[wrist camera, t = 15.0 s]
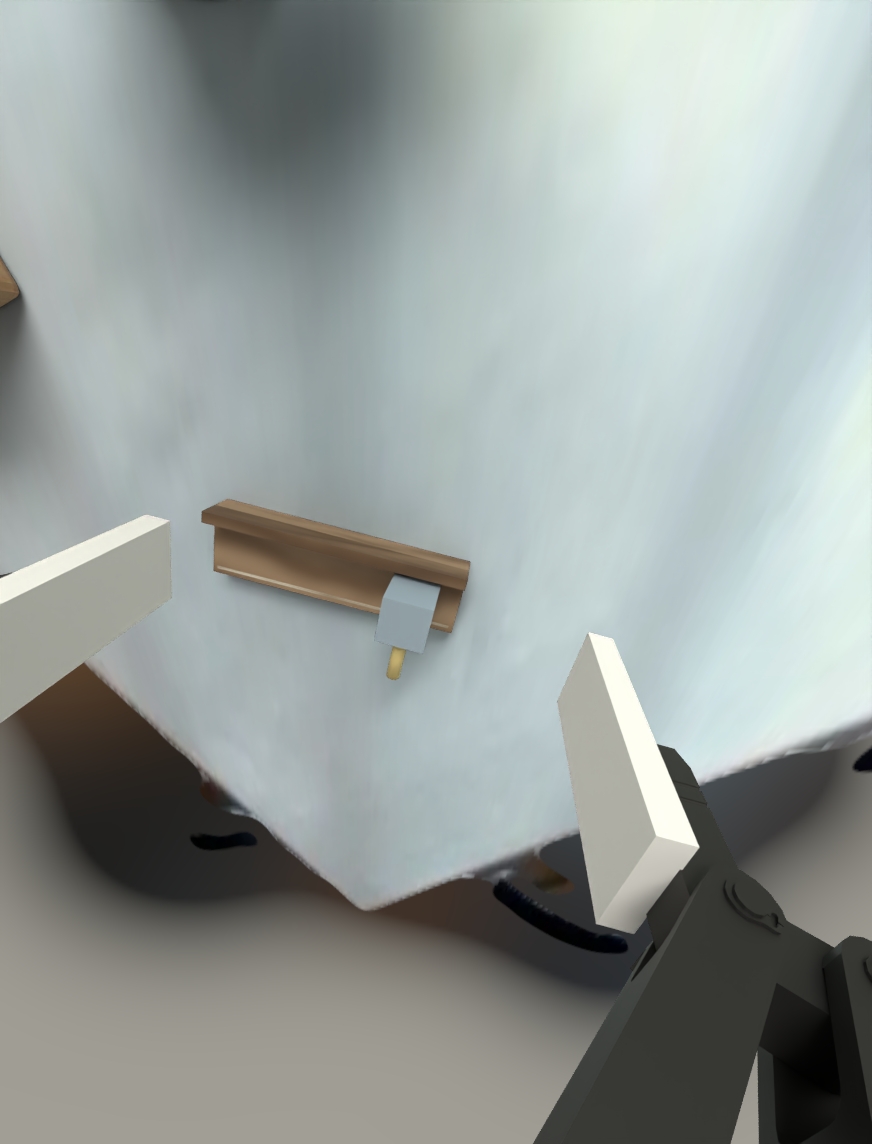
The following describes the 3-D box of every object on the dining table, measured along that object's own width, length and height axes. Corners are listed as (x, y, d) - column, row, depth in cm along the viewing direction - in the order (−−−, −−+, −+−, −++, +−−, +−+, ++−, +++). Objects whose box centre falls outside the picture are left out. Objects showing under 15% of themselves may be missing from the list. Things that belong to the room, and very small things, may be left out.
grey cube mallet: (397, 568, 50) (382, 597, 44) (442, 580, 50) (434, 610, 44) (381, 644, 54) (365, 680, 48) (422, 655, 54) (412, 693, 48)
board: (227, 498, 52) (201, 511, 47) (470, 561, 51) (467, 580, 47) (225, 562, 55) (200, 580, 51) (453, 622, 55) (449, 645, 50)
